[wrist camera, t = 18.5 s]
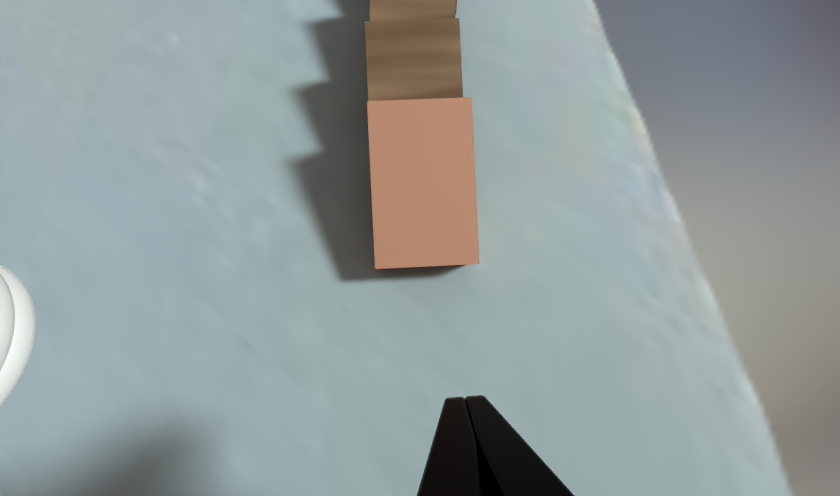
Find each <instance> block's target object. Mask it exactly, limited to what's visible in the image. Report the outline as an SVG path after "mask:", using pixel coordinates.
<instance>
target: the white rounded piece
mask: <svg viewBox="0 0 840 496" xmlns="http://www.w3.org/2000/svg"><path fill="white" fill-rule="evenodd" d="M35 335H36V314H35V308H34V304H33V300H32V298H31V295H30V293H29V291H28V289H27V288H26V286H25V285H24V283H23V282H22V281H21V280H20V279H19V278H18V277H17V276H16V275H15V274H14V273H12V272H11V271H10V270H8V269H7V268H5V267H4V266H2V265H0V407H1V406H2V405H3V404H4V403H5V401H6V400H7V398H8V397H9V396H10V394H11V393H12V392H13V390H14V389H15V387H16V385H17V384H18V382H19V380H20V378H21V377H22V375H23V373H24V370H25V368H26V366H27V364H28V362H29V359H30V355H31V352H32V349H33V345H34V340H35Z"/></svg>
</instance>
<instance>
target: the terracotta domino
mask: <svg viewBox="0 0 840 496" xmlns="http://www.w3.org/2000/svg"><path fill="white" fill-rule="evenodd" d="M367 112H368V133H369V154H370V174H371V195H372V216H373V236H374V257H375V269H386V268H406V267H426V266H446V265H467V264H479V246H478V225H477V204H476V182H475V161H474V140H473V119H472V98H471V97H466V98H438V99H410V100H382V101H367Z"/></svg>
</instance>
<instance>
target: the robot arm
mask: <svg viewBox="0 0 840 496" xmlns="http://www.w3.org/2000/svg"><path fill="white" fill-rule="evenodd" d="M417 496H574V495H573V494H572V493H571V491H570V490H569V489H568V488H567V487H566V486H565V485H564V484H563V483H562V481H561V480H560V479H559V478H558V477H557V476H556V475H555V474H554V473H553V472H552V470H551V469H550V468H549V467H548V466H547V465H546V464H545V463H544V462H543V460H542V459H541V458H540V457H539V456H538V455H537V454H536V453H535V452H534V451H533V449H532V448H531V447H530V446H529V445H528V444H527V443H526V442H525V441H524V439H523V438H522V437H521V436H520V435H519V434H518V433H517V432H516V431H515V430H514V428H513V427H512V426H511V425H510V424H509V423H508V422H507V421H506V420H505V418H504V417H503V416H502V415H501V414H500V413H499V412H498V411H497V410H496V409H495V407H494V406H493V405H492V404H491V403H490V402H489V401H488V400H487V399H486V398H485V397H484V396H482V395H479V396H467V397H466V398H465V399H464V398H463V397H453V398H447V399H446V400H445V402H444V405H443V408H442V412H441V415H440V419H439V422H438V425H437V429H436V432H435V436H434V439H433V442H432V446H431V449H430V453H429V456H428V459H427V463H426V466H425V470H424V473H423V476H422V480H421V483H420V487H419V490H418V493H417Z"/></svg>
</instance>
